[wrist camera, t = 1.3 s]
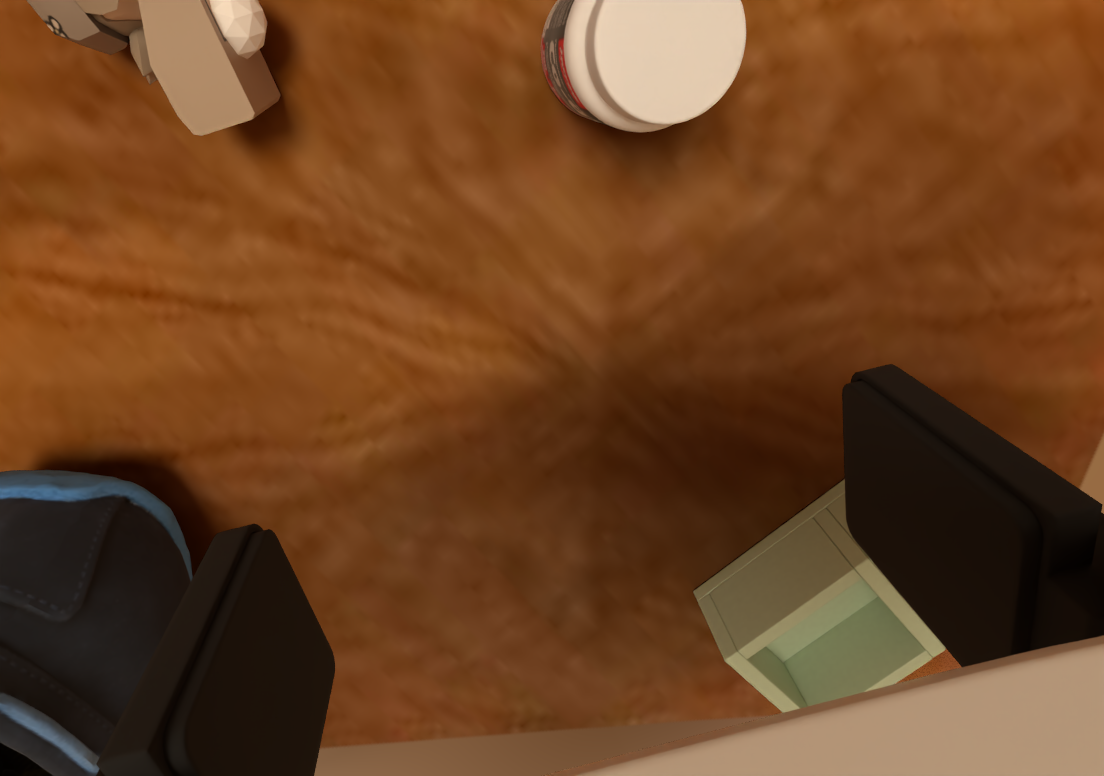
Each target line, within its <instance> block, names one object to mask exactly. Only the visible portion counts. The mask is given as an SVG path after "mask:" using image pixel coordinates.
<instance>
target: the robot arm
mask: <svg viewBox="0 0 1104 776" xmlns="http://www.w3.org/2000/svg"><path fill="white" fill-rule="evenodd" d="M842 401H843V436H844V472H845V507H846V522H847V526H848V528H849V531H850V533H851V535H852V537H853V538H854V540H855V541H856V542H857V544H858V545H859V546H860V547H861V548H862V549H863V551H864V552H865V553H866V554H867V555H868V557H869V558H870V559H871V560H872V561H873V562H874V564H875V565H876V566H877V567H878V568H879V570H880V571H881V572H882V573H883V574H884V575H885V577H886V578H887V579H888V580H889V581H890V582H891V584H892V585H893V586H894V587H895V588H896V590H897V591H898V592H899V593H900V594H901V595H902V597H903V598H904V599H905V600H906V601H907V603H908V604H909V605H910V606H911V607H912V608H913V610H914V611H915V612H916V613H917V614H918V616H919V617H920V618H921V619H922V620H923V621H924V623H925V624H926V625H927V626H928V627H929V629H930V630H931V631H932V632H933V633H934V634H935V636H936V637H937V638H938V639H939V640H940V641H941V643H942V644H943V645H944V646H945V647H946V649H947V650H948V651H949V652H950V653H951V654H952V656H953V657H954V658H955V659H956V660H957V662H958V663H959V664H960V665H961V666H962V668H958V669H953V670H949V671H945V672H941V673H937V674H932V675H929V676H925V677H921V678H917V679H913V680H909V681H905V682H901V683H897V684H893V685H890V686H886V687H882V688H878V689H874V690H870V691H866V692H862V693H858V694H854V695H851V696H847V697H843V698H839V699H835V700H831V701H827V702H823V703H819V704H815V705H811V706H808V707H804V708H800V709H796V710H792V711H788V712H784V713H780V714H776V715H772V716H769V717H765V718H761V719H757V720H753V721H749V722H745V723H741V724H738V725H734V726H730V727H726V728H722V729H719V730H715V731H711V732H707V733H703V734H699V735H696V736H692V737H688V738H684V739H681V740H676V741H673V742H669V743H665V744H661V745H657V746H654V747H650V748H646V749H642V750H638V751H635V752H631V753H627V754H623V755H619V756H615V757H612V758H608V759H604V760H601V761H597V762H593V763H589V764H585V765H581V766H577V767H574V768H570V769H566V770H562V771H558V772H555V773H551V774H547V775H543V776H1104V514H1103V513H1101V510H1102V504H1101V503H1099V502H1098V501H1096V500H1095V499H1093V498H1092V497H1090V496H1089V495H1087V494H1086V493H1084V492H1083V491H1081V490H1080V489H1078V488H1077V487H1075V486H1074V485H1072V484H1071V483H1069V482H1068V481H1066V480H1065V479H1063V478H1062V477H1061V476H1059V475H1058V474H1056V473H1055V472H1053V471H1052V470H1050V469H1049V468H1047V467H1046V466H1044V465H1043V464H1041V463H1040V462H1038V461H1037V460H1035V459H1034V458H1032V457H1031V456H1029V455H1028V454H1026V453H1025V452H1023V451H1022V450H1020V449H1019V448H1017V447H1016V446H1014V445H1013V444H1011V443H1010V442H1008V441H1007V440H1005V439H1004V438H1003V437H1001V436H1000V435H998V434H997V433H995V432H994V431H992V430H991V429H989V428H988V427H986V426H985V425H983V424H982V423H980V422H979V421H977V420H976V419H974V418H973V417H971V416H970V415H968V414H967V413H965V412H964V411H962V410H961V409H959V408H958V407H956V406H955V405H953V404H952V403H950V402H949V401H947V400H946V399H945V398H943V397H942V396H940V395H939V394H937V393H936V392H934V391H933V390H931V389H930V388H928V387H927V386H925V385H924V384H922V383H921V382H919V381H918V380H916V379H915V378H913V377H912V376H910V375H909V374H907V373H906V372H904V371H903V370H901V369H900V368H898V367H897V366H895V365H893V364H889V365H884V366H880V367H876V368H872V369H868V370H864V371H860V372H856V373H855V374H854V375H853V376H852V379H851V383H849V384H846V385H845V386H844V388H843V392H842ZM334 674H335V661H334V656H333V652H332V649H331V647H330V645H329V643H328V641H327V639H326V637H325V635H324V633H323V631H322V629H321V626H320V624H319V622H318V620H317V618H316V616H315V614H314V612H313V610H312V608H311V606H310V604H309V602H308V600H307V598H306V596H305V594H304V592H303V590H302V588H301V586H300V583H299V581H298V579H297V577H296V575H295V573H294V571H293V569H292V567H291V565H290V563H289V561H288V559H287V557H286V555H285V553H284V551H283V549H282V547H281V545H280V542H279V540H278V538H277V536H276V535H275V533H274V532H273V531H272V530H269V529H268V530H264V531H263V529H262V528H261V527H260V526H259V525H257V524H251V525H247V526H243V527H239V528H235V529H231V530H227V531H223V532H220V533H217V534H216V536H215V537H214V538H213V540H212V542H211V544H210V546H209V548H208V550H207V552H206V554H205V556H204V557H203V559H202V561H201V563H200V565H199V567H198V569H197V571H196V573H195V575H194V577H193V579H192V581H191V583H190V584H189V586H188V588H187V590H186V592H185V594H184V596H183V598H182V600H181V602H180V604H179V606H178V608H177V609H176V611H175V613H174V615H173V617H172V619H171V621H170V623H169V625H168V627H167V629H166V631H165V633H164V634H163V636H162V638H161V640H160V642H159V644H158V646H157V648H156V650H155V652H154V654H153V656H152V658H151V659H150V661H149V663H148V665H147V667H146V669H145V671H144V673H143V675H142V677H141V679H140V681H139V683H138V685H137V686H136V688H135V690H134V692H133V694H132V696H131V698H130V700H129V702H128V704H127V706H126V708H125V710H124V711H123V713H122V715H121V717H120V719H119V721H118V723H117V725H116V727H115V729H114V731H113V733H112V735H111V736H110V738H109V740H108V742H107V744H106V746H105V748H104V750H103V752H102V754H101V756H100V758H99V760H98V761H97V763H96V765H97V766H98V767H99V771H98V773H97V775H96V776H314V773H315V768H316V763H317V758H318V753H319V748H320V743H321V738H322V733H323V729H324V724H325V719H326V714H327V709H328V704H329V699H330V694H331V689H332V684H333V679H334Z"/></svg>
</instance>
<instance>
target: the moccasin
mask: <svg viewBox="0 0 1104 776" xmlns="http://www.w3.org/2000/svg"><path fill="white" fill-rule="evenodd" d="M192 579H193V576H192V568H191V560H190V552H189V550H188V548H187V546H186V542H185V539H184V536H183V533H182V531H181V529H180V526H179V524H178V522H177V520H176V518H175V516H174V514H173V512H172V510H171V509H170V507H168V506H167V505H166V504H165V503H163V502H162V501H161V500H160V499H159V498H157V497H156V496H155V495H153V494H152V493H150V492H149V491H148V490H146V489H145V488H143V487H141V486H139V485H137V484H135V483H133V482H131V481H124V480H121V479H118V478H116V477H110V476H101V475H95V474H89V473H82V472H71V471H61V470H34V471H26V470H17V471H5V472H0V776H96V775H97V773H98V771H99V767H98V766H97V765H96V763H97V761H98V760H99V758H100V756H101V754H102V752H103V750H104V748H105V746H106V744H107V742H108V740H109V738H110V736H111V735H112V733H113V731H114V729H115V727H116V725H117V723H118V721H119V719H120V717H121V715H122V713H123V711H124V710H125V708H126V706H127V704H128V702H129V700H130V698H131V696H132V694H133V692H134V690H135V688H136V686H137V685H138V683H139V681H140V679H141V677H142V675H143V673H144V671H145V669H146V667H147V665H148V663H149V661H150V659H151V658H152V656H153V654H154V652H155V650H156V648H157V646H158V644H159V642H160V640H161V638H162V636H163V634H164V633H165V631H166V629H167V627H168V625H169V623H170V621H171V619H172V617H173V615H174V613H175V611H176V609H177V608H178V606H179V604H180V602H181V600H182V598H183V596H184V594H185V592H186V590H187V588H188V586H189V584H190V583H191V581H192Z"/></svg>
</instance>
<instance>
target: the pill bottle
mask: <svg viewBox="0 0 1104 776" xmlns="http://www.w3.org/2000/svg"><path fill="white" fill-rule="evenodd" d="M745 42H746V22H745V14H744V10H743V5H742V3H741V0H557V2H556V3H555V5H554V6H553V8H552V9H551V11H550V13H549V15H548V18H547V20H546V23H545V26H544V30H543V34H542V41H541V59H542V65H543V70H544V73H545V76H546V79H547V81H548V83H549V85H550V87H551V89H552V91H553V92H554V94H555V95H556V96H557V98H558V99H559V100H560V101H561V102H562V103H563V104H564V105H565V106H566V107H567V108H568V109H570V110H571V111H573V112H574V113H576V114H578V115H579V116H582V117H584V118H587V119H590V120H593V121H596V122H599V123H602V124H605V125H608V126H610V127H613V128H616V129H620V130H623V131H630V132H651V131H656V130H660V129H663V128H667V127H669V126H671V125H673V124H678V123H682V122H685V121H688V120H691V119H693V118H695V117H697V116H699V115H701V114H702V113H704V112H706V111H707V110H708V109H710V108H711V107H712V106H713V105H714V104H715V103H717V102H718V101H719V100H720V99H721V97H722V96H723V95H724V94H725V92H726V91H727V90H728V88H729V87H730V85H731V84H732V82H733V80H734V78H735V76H736V74H737V72H738V70H739V67H740V65H741V61H742V58H743V54H744V49H745Z"/></svg>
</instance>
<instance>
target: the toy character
mask: <svg viewBox="0 0 1104 776" xmlns="http://www.w3.org/2000/svg"><path fill="white" fill-rule="evenodd" d="M27 1H28V3H29V4H30V5H31V6H32V7H33V9H34V10H35V11H36V12H37V13H38V14H39V16H40V17H41V18H42V19H43V20H44V22H45V23H46V24H47V25H48V26H49V28H50V29H51V30H52V31H53V32H54V34H55V35H58V36H60V37H63V38H65V39H68V40H70V41H73V42H75V43H78V44H80V45H83V46H86V47H89V48H92V49H95V50H98V51H101V52H104V53H107V54H110V55H111V54H114V53H116V52H118V51H120V50H122V49H125V48H126V46H127V45H128V43H129V41H130V49H131V54H132V56H133V58H134V60H135V61H136V63H137V65H138V67H139V69H140V71H141V73H142V75H143V77H144V76H146V78H147V80H148V82H149V84H151V83H153V82H154V81H156V80H157V79H158V81H159V83H160V84H161V86H162V88H163V90H164V92H165V94H166V95H167V97H168V99H169V101H170V103H171V105H172V106H173V108H174V110H175V112H176V114H177V116H178V117H179V118H180V119H181V120H182V122H183V123H184V124H185V125H186V126H187V127H188V128H189V130H190V131H191V132H192V133H193V134H194V135H200V136H202V135H205V134H208V133H212V132H215V131H218V130H221V129H224V128H227V127H231V126H234V125H237V124H240V123H243V122H246V121H249V120H252V119H254V118H255V117H257V116H258V115H259V114H261V113H262V112H264V111H265V110H266V109H268V108H269V107H271V106H272V105H273V104H275V103H276V102H278V100H279V98H280V96H281V95H280V93H279V90H278V88H277V86H276V84H275V82H274V80H273V77H272V75H271V73H270V71H269V69H268V67H267V64H266V62H265V60H264V58H263V56H262V53H261V51H260V48H261V47H263V46H264V41H265V34H266V28H267V20H266V17H265V14H264V12H263V9H262V7H261V6H260V4H259V2H258V0H27Z"/></svg>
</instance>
